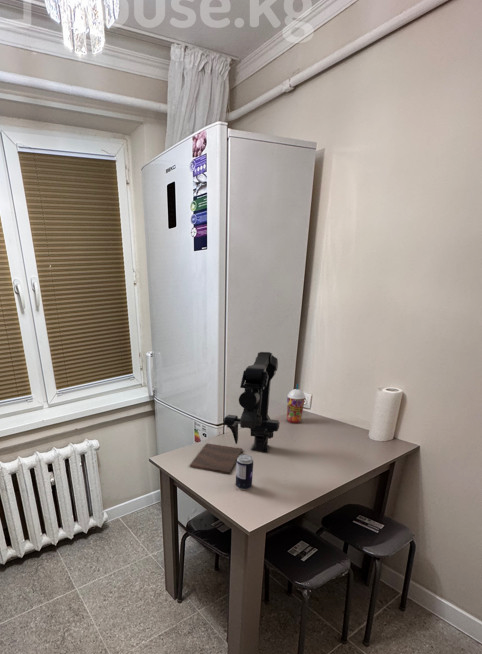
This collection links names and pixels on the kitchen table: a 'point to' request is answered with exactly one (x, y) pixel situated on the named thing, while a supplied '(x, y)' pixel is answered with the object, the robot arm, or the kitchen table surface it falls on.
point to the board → (216, 458)
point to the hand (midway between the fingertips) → (249, 445)
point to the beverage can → (244, 472)
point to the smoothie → (295, 405)
